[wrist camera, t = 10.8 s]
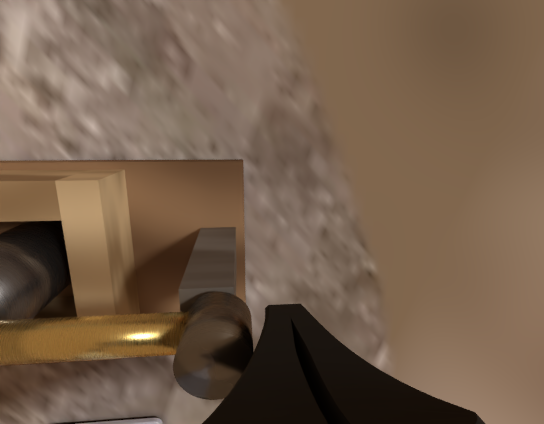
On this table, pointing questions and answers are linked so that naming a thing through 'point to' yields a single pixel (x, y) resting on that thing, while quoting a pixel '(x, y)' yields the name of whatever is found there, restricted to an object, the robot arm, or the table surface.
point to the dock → (134, 230)
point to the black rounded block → (32, 268)
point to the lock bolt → (146, 341)
